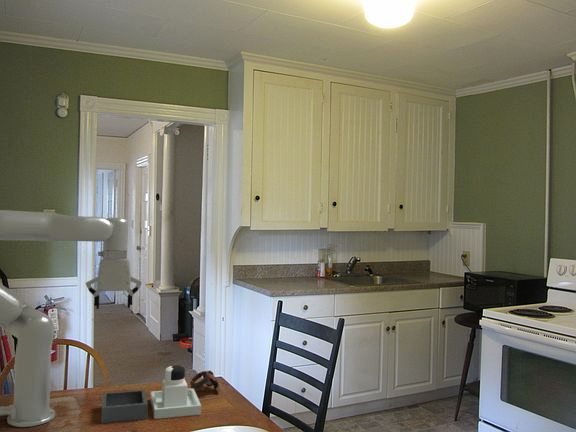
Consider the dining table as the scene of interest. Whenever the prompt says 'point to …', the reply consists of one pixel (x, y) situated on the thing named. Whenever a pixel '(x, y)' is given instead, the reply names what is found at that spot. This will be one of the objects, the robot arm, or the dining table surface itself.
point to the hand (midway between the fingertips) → (113, 307)
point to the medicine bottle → (174, 387)
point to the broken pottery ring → (205, 381)
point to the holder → (124, 406)
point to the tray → (168, 412)
